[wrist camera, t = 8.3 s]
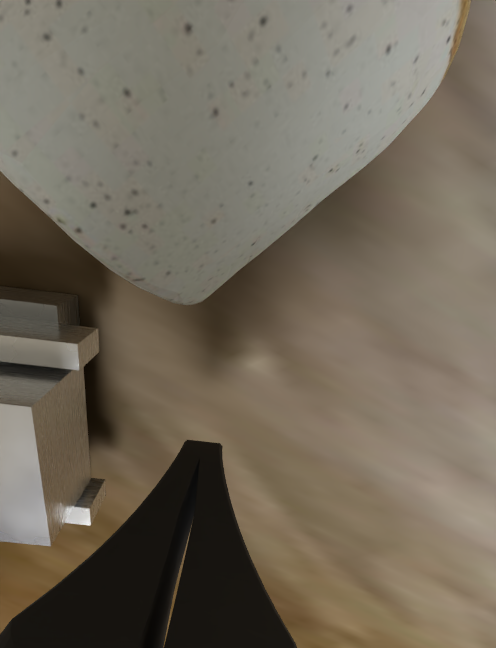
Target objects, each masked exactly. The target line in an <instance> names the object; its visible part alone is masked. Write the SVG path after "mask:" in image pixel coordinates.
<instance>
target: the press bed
mask: <svg viewBox="0 0 496 648" xmlns="http://www.w3.org/2000/svg"><path fill="white" fill-rule="evenodd" d="M98 352H99V335H98V328H93V327H85V326H80V319H79V305H78V295H72V294H64V293H56V292H47V291H39V290H31V289H23V288H15V287H6V286H0V361H2V362H10V363H19V364H28V365H36V366H45V367H54V368H63V369H71V370H80V369H81V368H82V367H84V366H85V365H86V364H87V363H88V362H89V361H90V360H91V359H92V358H93V357H94V356H95V355H96V354H97V353H98ZM105 496H106V485H105V479H97V478H91V479H90V481H89V483H88V484H87V486H86V488H85V489H84V491H83V493H82V494H81V496H80V498H79V499H78V501H77V503H76V505H75V506H74V508H73V510H72V511H71V513H70V515H69V516H68V518H67V520H66V521H65V523H72V524H82V525H91V524H92V522H93V520H94V518H95V516H96V514H97V512H98V510H99V508H100V506H101V504H102V502H103V500H104V498H105Z"/></svg>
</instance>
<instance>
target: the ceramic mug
mask: <svg viewBox="0 0 496 648" xmlns="http://www.w3.org/2000/svg"><path fill="white" fill-rule="evenodd" d="M470 3H471V0H0V171H1V172H2V173H3V174H4V175H5V176H6V177H7V178H8V179H9V180H10V181H11V182H12V183H13V184H14V185H15V186H16V187H17V188H18V189H19V190H20V191H21V192H23V193H24V194H25V195H26V196H27V197H28V198H29V199H30V200H32V201H33V202H34V203H35V204H36V205H37V206H38V207H39V208H40V209H41V210H42V211H43V212H44V213H46V214H47V215H48V216H49V217H50V218H51V219H52V220H53V221H54V222H55V223H56V224H57V225H58V226H59V227H60V228H61V229H62V230H64V231H65V232H66V233H67V234H68V235H69V236H70V237H71V238H72V239H73V240H74V241H75V242H77V243H78V244H79V245H80V246H81V247H83V248H84V249H85V250H86V251H88V252H89V253H90V254H91V255H93V256H94V257H95V258H96V259H97V260H99V261H100V262H101V263H102V264H104V265H105V266H106V267H107V268H109V269H110V270H111V271H113V272H114V273H116V274H118V275H119V276H121V277H122V278H124V279H125V280H127V281H129V282H130V283H132V284H134V285H135V286H137V287H139V288H141V289H143V290H145V291H148V292H150V293H152V294H154V295H157V296H159V297H161V298H163V299H165V300H168V301H170V302H173V303H177V304H182V305H192V304H196V303H199V302H202V301H203V300H205V299H206V298H207V297H208V296H210V295H211V294H212V293H213V292H214V291H216V290H217V289H218V288H219V287H220V286H222V285H223V284H224V283H225V282H226V281H227V280H228V279H230V278H231V277H232V276H233V275H234V274H235V273H236V272H238V271H239V270H240V269H241V268H242V267H244V266H245V265H246V264H248V263H249V262H250V261H251V260H253V259H254V258H255V257H256V256H258V255H259V254H260V253H261V252H263V251H264V250H265V249H266V248H267V247H269V246H270V245H271V244H272V243H273V242H275V241H276V240H277V239H278V238H279V237H281V236H282V235H283V234H284V233H285V232H287V231H288V230H289V229H290V228H291V227H292V226H294V225H295V224H296V223H297V222H298V221H299V220H300V219H302V218H303V217H304V216H305V215H306V214H307V213H309V212H310V211H311V210H312V209H313V208H314V207H315V206H316V205H318V204H319V203H320V202H321V201H322V200H323V199H325V198H326V197H327V196H328V195H330V194H331V193H332V192H333V191H335V190H336V189H337V188H338V187H340V186H341V185H342V184H343V183H345V182H346V181H347V180H348V179H350V178H351V177H352V176H354V175H355V174H356V173H357V172H359V171H360V170H361V169H362V168H364V167H365V166H366V165H367V164H368V163H369V162H371V161H372V160H373V159H374V158H375V157H376V156H378V155H379V154H380V153H381V152H382V151H383V150H384V149H385V148H386V147H387V146H388V145H389V144H390V143H391V142H392V141H393V140H394V139H395V138H396V137H397V136H398V135H399V134H400V133H401V131H402V130H403V129H404V128H405V127H406V126H407V125H408V124H409V122H410V121H411V120H412V119H413V118H414V117H415V116H416V115H417V114H418V113H419V112H420V110H421V109H422V108H423V107H424V106H425V105H426V104H427V102H428V101H429V100H430V98H431V97H432V96H433V94H434V93H435V91H436V90H437V88H438V87H439V85H440V83H441V82H442V80H443V79H444V77H445V75H446V73H447V71H448V69H449V67H450V65H451V63H452V60H453V58H454V56H455V54H456V52H457V50H458V48H459V44H460V41H461V37H462V34H463V30H464V27H465V23H466V20H467V16H468V13H469V9H470Z"/></svg>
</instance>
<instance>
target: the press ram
mask: <svg viewBox="0 0 496 648" xmlns="http://www.w3.org/2000/svg"><path fill="white" fill-rule="evenodd" d="M90 479H91V472H90V457H89V442H88V428H87V413H86V398H85V383H84V369H83V367H82V368H81V369H80V370H71V369H63V368H54V367H45V366H36V365H28V364H19V363H10V362H2V361H0V541H3V542H14V543H24V544H35V545H45V546H51V545H52V543H53V541H54V540H55V538H56V536H57V535H58V533H59V531H60V530H61V528H62V526H63V525H64V523H65V521H66V520H67V518H68V516H69V515H70V513H71V511H72V510H73V508H74V506H75V505H76V503H77V501H78V499H79V498H80V496H81V494H82V493H83V491H84V489H85V488H86V486H87V484H88V483H89V481H90Z"/></svg>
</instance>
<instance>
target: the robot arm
mask: <svg viewBox="0 0 496 648" xmlns="http://www.w3.org/2000/svg"><path fill="white" fill-rule="evenodd" d="M193 517H194V518H193ZM192 521H193V522H192ZM191 525H192V527H191ZM190 528H191V532H190ZM189 532H190V537H189V541H188V546H187V550H186V555H185V560H184V564H183V569H182V573H181V577H180V582H179V586H178V591H177V595H176V599H175V604H174V608H173V612H172V616H171V620H170V625H169V629H168V633H167V637H166V641H165V635H166V630H167V625H168V620H169V614H170V609H171V604H172V599H173V594H174V589H175V585H176V581H177V577H178V573H179V569H180V565H181V562H182V558H183V554H184V551H185V547H186V543H187V540H188V536H189ZM164 641H165V645H164ZM163 646H164V648H297V646H296V644H295V642H294V640H293V638H292V637H291V635H290V633H289V632H288V630H287V628H286V627H285V625H284V623H283V621H282V620H281V618H280V616H279V614H278V612H277V611H276V609H275V607H274V605H273V603H272V601H271V599H270V597H269V595H268V594H267V592H266V590H265V588H264V585H263V583H262V581H261V579H260V577H259V575H258V573H257V571H256V568H255V566H254V564H253V562H252V560H251V557H250V555H249V553H248V550H247V548H246V545H245V543H244V540H243V537H242V535H241V532H240V529H239V526H238V524H237V520H236V517H235V514H234V511H233V508H232V504H231V500H230V497H229V493H228V488H227V484H226V479H225V474H224V468H223V460H222V445H221V444H220V443H211V442H202V441H193V440H187V441H186V442H185V443H184V445H183V447H182V448H181V450H180V452H179V454H178V455H177V457H176V458H175V460H174V461H173V463H172V464H171V466H170V467H169V469H168V470H167V472H166V473H165V474H164V476H163V477H162V479H161V480H160V481H159V483H158V484H157V485H156V487H155V488H154V489H153V490H152V492H151V493H150V494H149V495H148V497H147V498H146V499H145V500H144V501H143V503H142V504H141V505H140V506H139V507H138V508H137V510H136V511H135V512H134V513H133V514H132V515H131V516H130V517H129V519H128V520H127V521H126V522H125V523H124V524H123V525H122V526H121V527H120V528H119V529H118V530H117V531H116V532H115V533H114V534H113V535H112V536H111V537H110V538H109V539H108V540H107V541H106V542H105V543H104V544H103V545H102V546H101V547H100V548H99V549H98V550H96V551H95V552H94V553H93V554H92V555H91V556H90V557H89V558H88V559H86V560H85V561H84V562H83V563H82V564H81V565H79V566H78V567H77V568H76V569H75V570H74V571H72V572H71V573H70V574H69V575H68V576H67V577H65V578H64V579H63V580H62V581H61V582H60V583H58V584H57V585H56V586H55V587H53V588H52V589H51V590H50V591H48V592H47V593H46V594H44V595H43V596H42V597H40V598H39V599H38V600H36V601H35V602H34V603H32V604H31V605H30V606H29V607H27V608H26V609H25V610H23V611H22V612H21V613H19V614H18V615H17V616H15V617H14V618H13V619H12V620H11V621H10V622H9V623H8V625H7V626H6V627H5V629H4V630H3V632H2V633H1V634H0V648H163Z"/></svg>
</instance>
